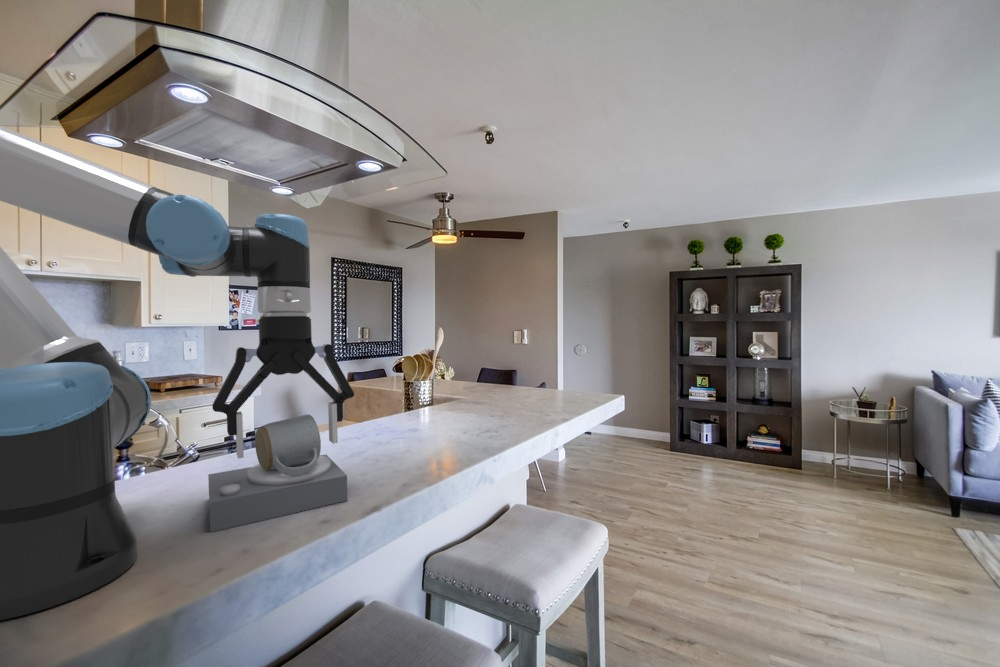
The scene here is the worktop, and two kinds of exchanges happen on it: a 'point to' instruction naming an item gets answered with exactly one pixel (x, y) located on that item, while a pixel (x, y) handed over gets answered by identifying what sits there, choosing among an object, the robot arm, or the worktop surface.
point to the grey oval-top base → (272, 493)
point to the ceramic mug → (289, 445)
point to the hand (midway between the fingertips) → (289, 448)
